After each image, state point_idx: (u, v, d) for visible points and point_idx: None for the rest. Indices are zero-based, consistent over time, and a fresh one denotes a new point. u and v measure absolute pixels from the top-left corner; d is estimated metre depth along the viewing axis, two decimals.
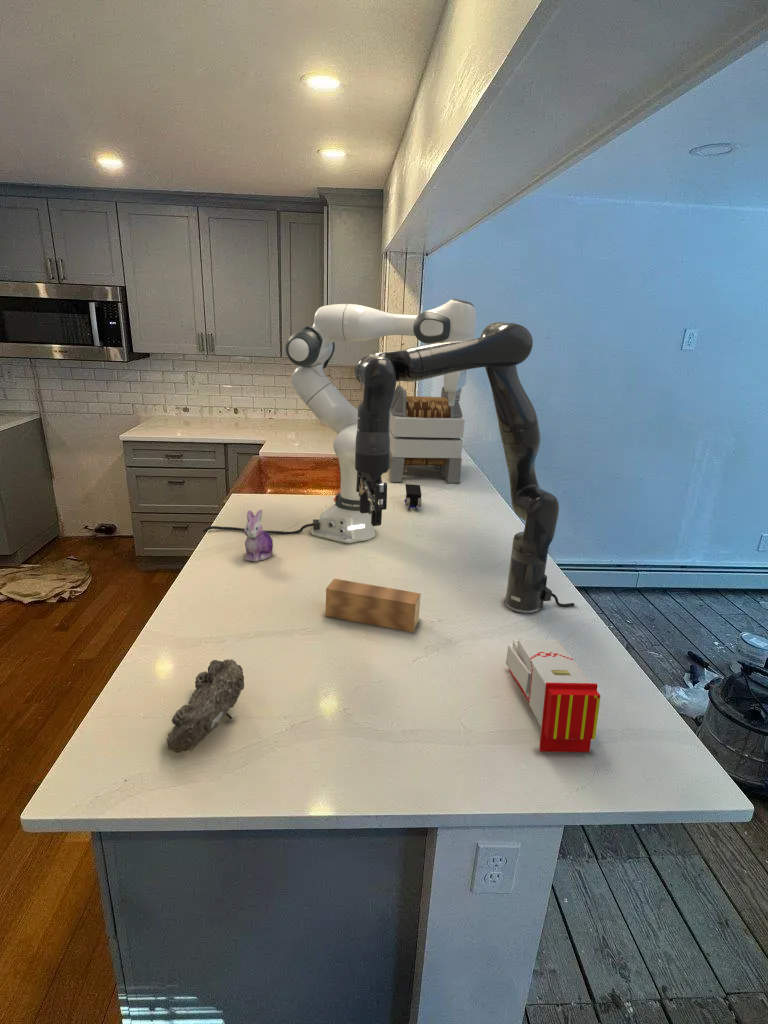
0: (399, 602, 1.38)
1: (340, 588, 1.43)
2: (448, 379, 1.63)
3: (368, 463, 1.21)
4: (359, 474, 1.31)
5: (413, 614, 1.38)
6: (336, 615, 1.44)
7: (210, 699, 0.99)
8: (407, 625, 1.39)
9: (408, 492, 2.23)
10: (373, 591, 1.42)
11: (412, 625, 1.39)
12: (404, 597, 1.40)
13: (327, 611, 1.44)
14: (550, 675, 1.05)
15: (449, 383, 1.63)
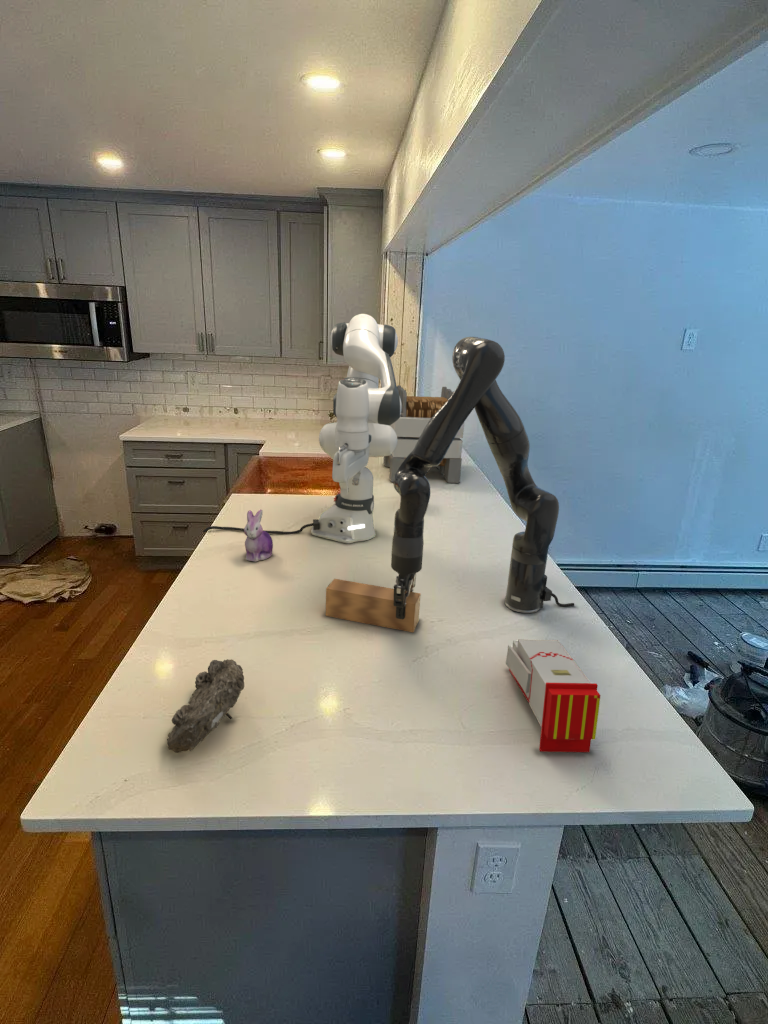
0: None
1: (340, 588, 1.43)
2: None
3: (395, 562, 1.34)
4: None
5: (413, 614, 1.38)
6: (336, 615, 1.44)
7: (210, 699, 0.99)
8: (407, 625, 1.39)
9: None
10: (373, 591, 1.42)
11: (412, 625, 1.39)
12: None
13: (327, 611, 1.44)
14: (550, 675, 1.05)
15: None
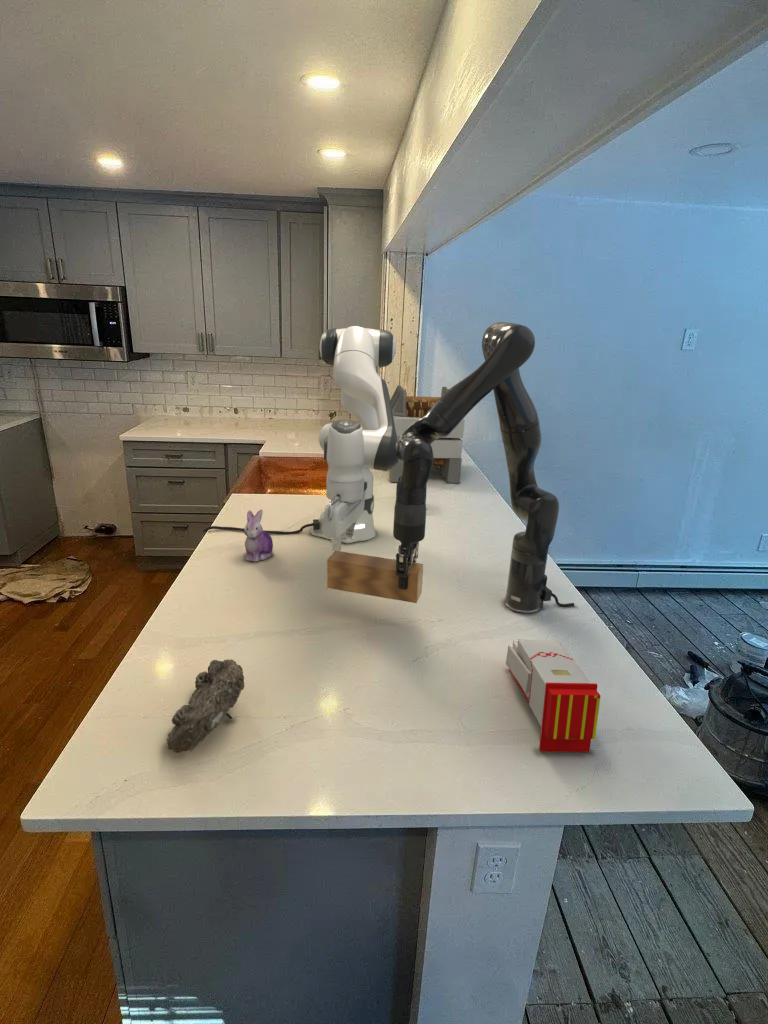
0: None
1: (342, 559, 1.40)
2: None
3: (398, 531, 1.32)
4: None
5: (416, 584, 1.35)
6: (337, 587, 1.41)
7: (210, 699, 0.99)
8: (410, 596, 1.36)
9: None
10: (375, 562, 1.39)
11: (415, 596, 1.36)
12: None
13: (328, 583, 1.42)
14: (550, 675, 1.05)
15: None
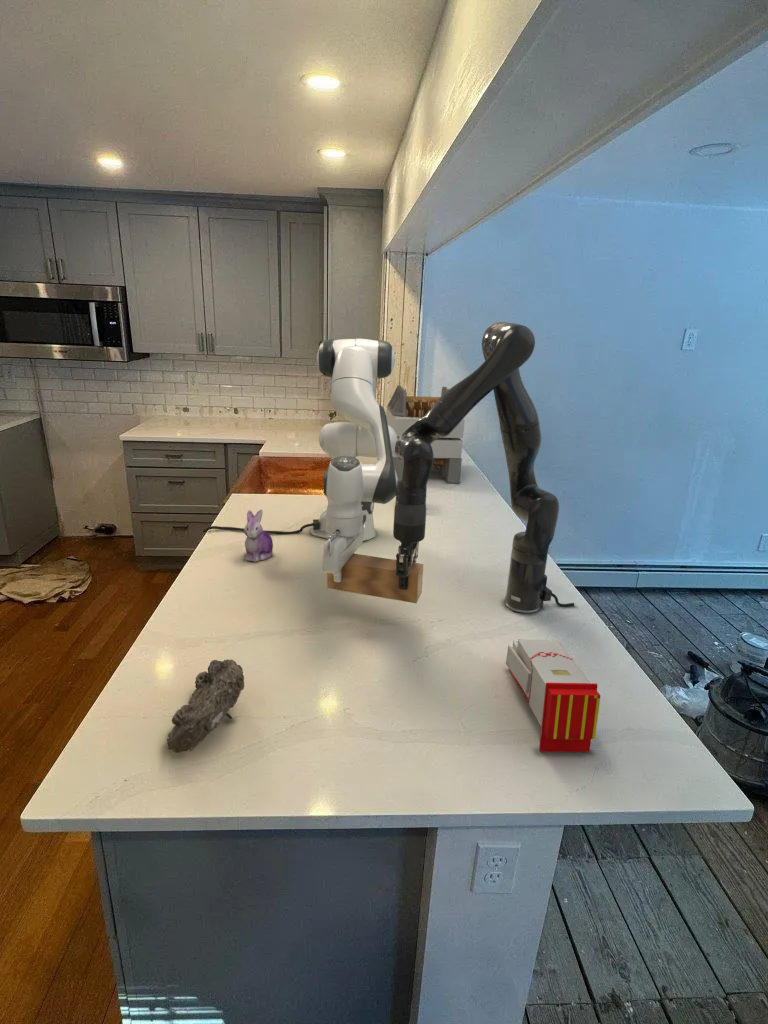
0: None
1: None
2: None
3: (398, 531, 1.32)
4: None
5: (416, 584, 1.35)
6: (337, 587, 1.41)
7: (210, 699, 0.99)
8: (410, 596, 1.36)
9: None
10: (375, 562, 1.39)
11: (415, 596, 1.36)
12: None
13: (328, 583, 1.42)
14: (550, 675, 1.05)
15: None
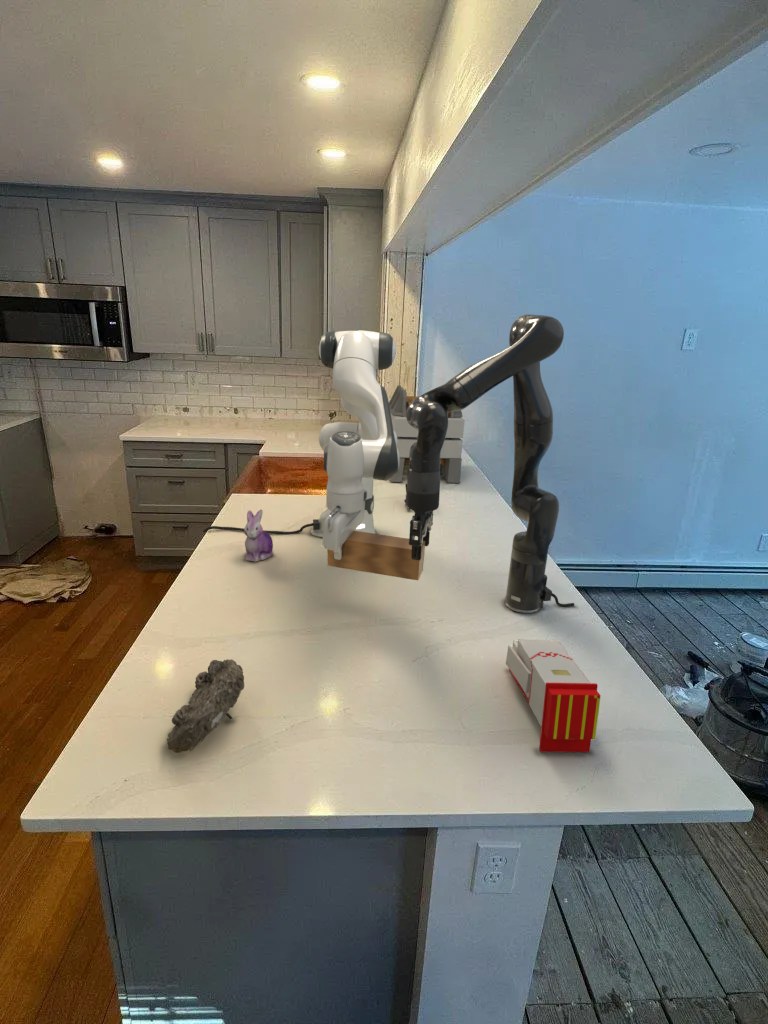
0: (403, 549, 1.33)
1: None
2: None
3: (411, 500, 1.28)
4: None
5: (418, 561, 1.33)
6: (337, 565, 1.40)
7: (210, 699, 0.99)
8: (411, 573, 1.35)
9: None
10: (376, 539, 1.37)
11: (417, 573, 1.35)
12: (408, 544, 1.35)
13: (329, 561, 1.40)
14: (550, 675, 1.05)
15: None
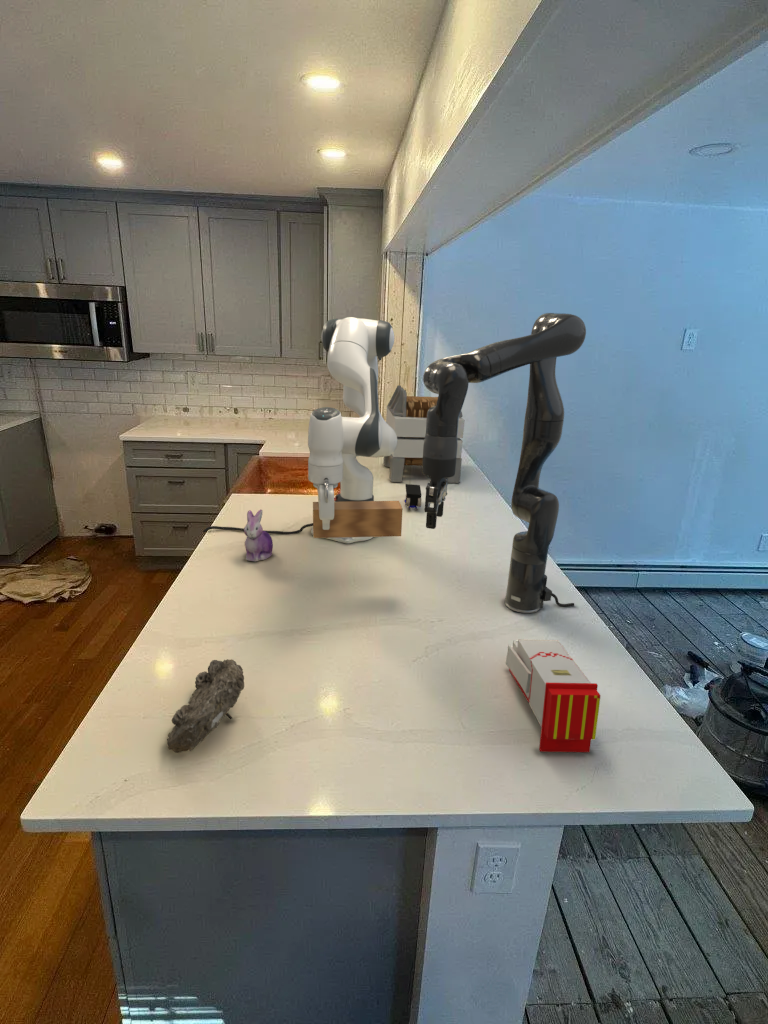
0: (387, 509, 1.47)
1: None
2: None
3: (427, 465, 1.25)
4: None
5: (400, 518, 1.49)
6: (324, 535, 1.47)
7: (210, 699, 0.99)
8: (395, 530, 1.50)
9: (408, 492, 2.23)
10: (358, 505, 1.48)
11: (400, 529, 1.50)
12: (388, 505, 1.49)
13: (315, 533, 1.47)
14: (550, 675, 1.05)
15: None
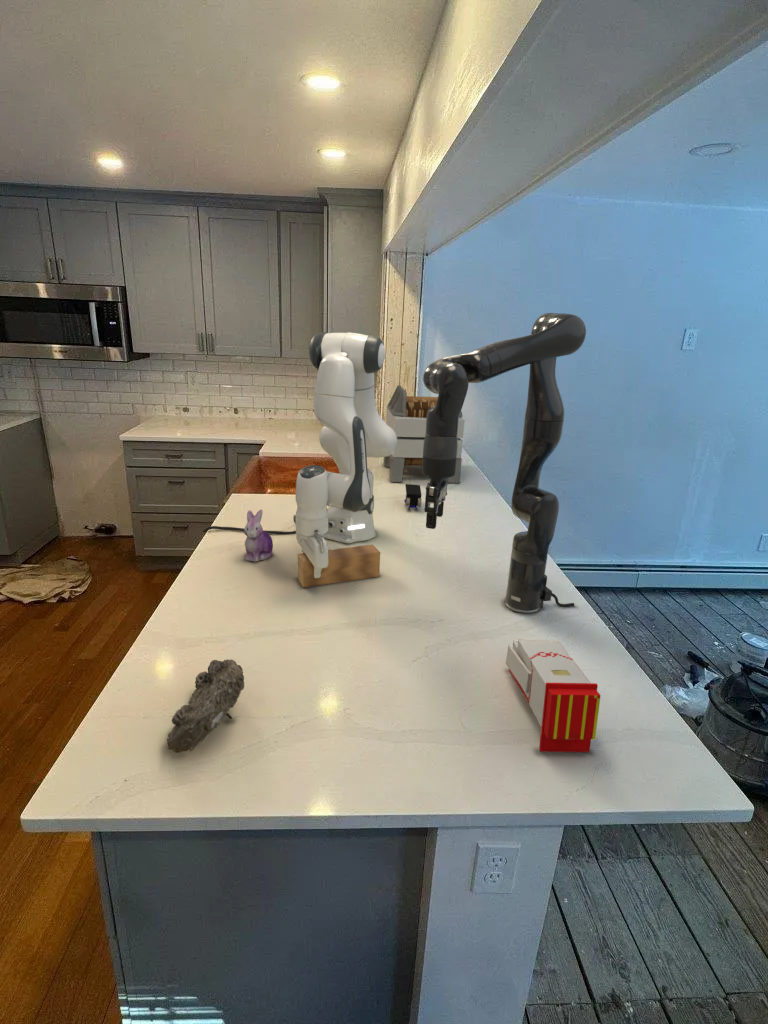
0: (367, 554, 1.64)
1: None
2: None
3: (427, 465, 1.25)
4: None
5: (378, 561, 1.66)
6: (312, 584, 1.60)
7: (210, 699, 0.99)
8: (374, 571, 1.66)
9: (408, 492, 2.23)
10: (340, 553, 1.63)
11: (378, 570, 1.67)
12: (366, 550, 1.66)
13: (304, 582, 1.59)
14: (550, 675, 1.05)
15: None
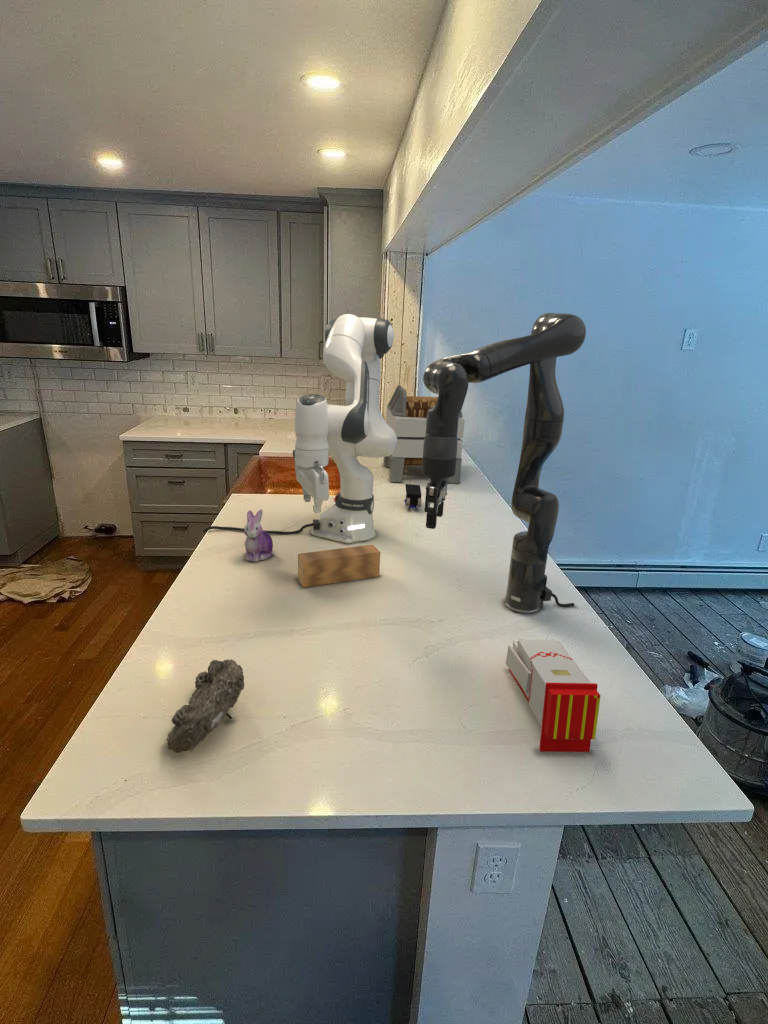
0: (367, 554, 1.64)
1: (313, 558, 1.59)
2: None
3: (427, 465, 1.25)
4: None
5: (378, 561, 1.66)
6: (312, 584, 1.60)
7: (210, 699, 0.99)
8: (374, 571, 1.66)
9: (408, 492, 2.23)
10: (340, 553, 1.63)
11: (378, 570, 1.67)
12: (366, 550, 1.66)
13: (304, 582, 1.59)
14: (550, 675, 1.05)
15: None
